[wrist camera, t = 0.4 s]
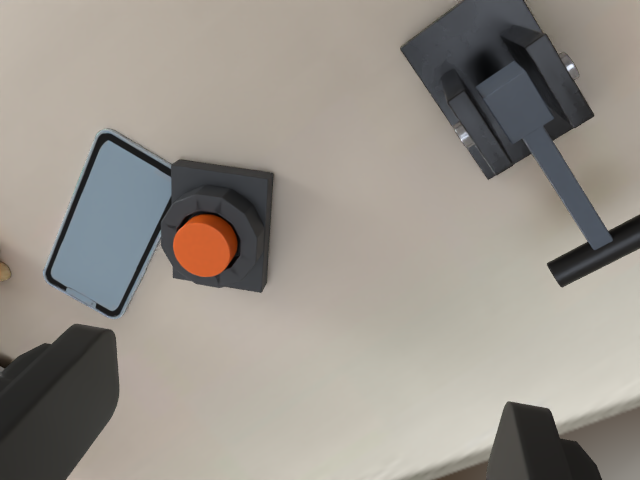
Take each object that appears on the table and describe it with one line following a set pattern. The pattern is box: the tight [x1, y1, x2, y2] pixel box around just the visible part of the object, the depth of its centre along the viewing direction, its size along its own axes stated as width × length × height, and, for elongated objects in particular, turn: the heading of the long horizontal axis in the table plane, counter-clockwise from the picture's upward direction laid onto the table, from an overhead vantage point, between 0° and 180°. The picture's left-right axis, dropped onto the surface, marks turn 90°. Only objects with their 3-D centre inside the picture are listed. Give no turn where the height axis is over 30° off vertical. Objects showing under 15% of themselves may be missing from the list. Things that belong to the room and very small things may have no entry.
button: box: [173, 214, 238, 277], centre depth 38 cm, size 4×4×2 cm
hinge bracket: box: [400, 0, 594, 180], centre depth 30 cm, size 10×7×10 cm
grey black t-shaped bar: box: [476, 61, 640, 287], centre depth 29 cm, size 12×6×2 cm, turn 38°
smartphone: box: [43, 129, 172, 319], centre depth 43 cm, size 7×1×15 cm
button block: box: [161, 160, 273, 293], centre depth 40 cm, size 9×7×4 cm
